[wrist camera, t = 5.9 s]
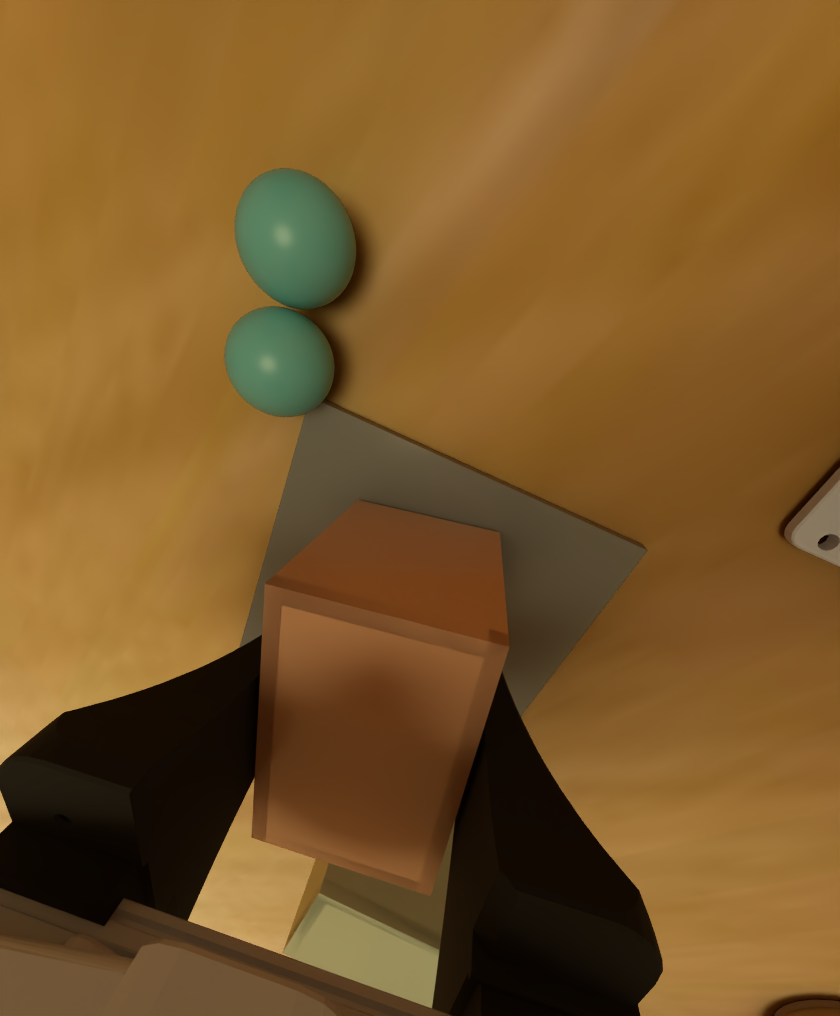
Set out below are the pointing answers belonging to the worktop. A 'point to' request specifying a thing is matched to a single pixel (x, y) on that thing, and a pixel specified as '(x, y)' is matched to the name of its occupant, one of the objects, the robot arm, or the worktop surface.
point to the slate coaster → (463, 499)
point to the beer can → (810, 1008)
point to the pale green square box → (372, 929)
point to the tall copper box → (377, 690)
